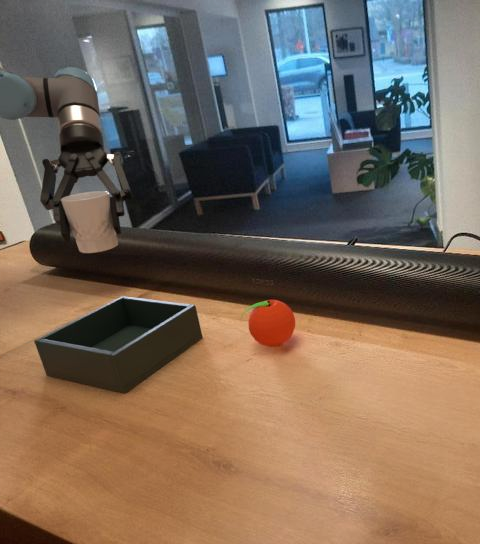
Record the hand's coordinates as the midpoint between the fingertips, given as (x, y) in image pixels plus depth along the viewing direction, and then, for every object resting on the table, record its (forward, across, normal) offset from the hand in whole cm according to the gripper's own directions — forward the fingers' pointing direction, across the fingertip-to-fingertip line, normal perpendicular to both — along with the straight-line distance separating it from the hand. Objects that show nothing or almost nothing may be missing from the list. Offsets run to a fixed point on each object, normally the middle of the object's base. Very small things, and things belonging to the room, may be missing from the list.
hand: (92, 234), depth 89 cm
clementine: (+31, -25, +12) cm, 42 cm away
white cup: (0, 0, -5) cm, 5 cm away
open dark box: (+26, -4, +6) cm, 28 cm away
